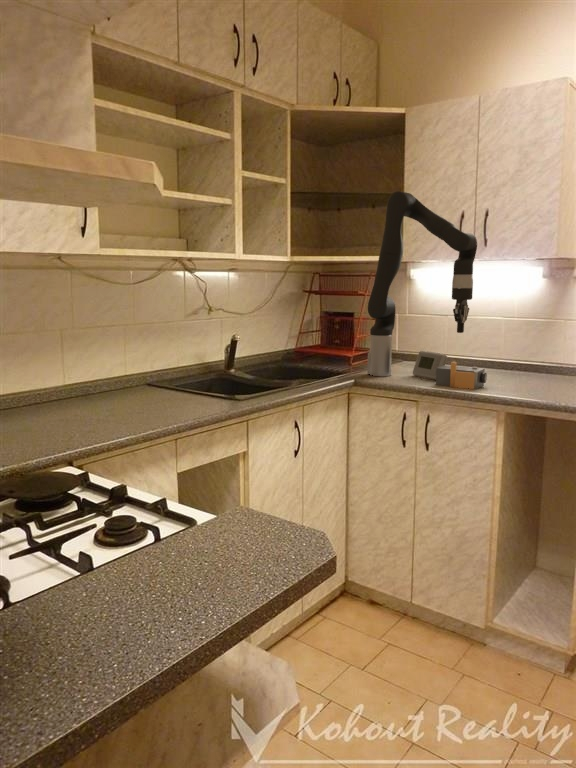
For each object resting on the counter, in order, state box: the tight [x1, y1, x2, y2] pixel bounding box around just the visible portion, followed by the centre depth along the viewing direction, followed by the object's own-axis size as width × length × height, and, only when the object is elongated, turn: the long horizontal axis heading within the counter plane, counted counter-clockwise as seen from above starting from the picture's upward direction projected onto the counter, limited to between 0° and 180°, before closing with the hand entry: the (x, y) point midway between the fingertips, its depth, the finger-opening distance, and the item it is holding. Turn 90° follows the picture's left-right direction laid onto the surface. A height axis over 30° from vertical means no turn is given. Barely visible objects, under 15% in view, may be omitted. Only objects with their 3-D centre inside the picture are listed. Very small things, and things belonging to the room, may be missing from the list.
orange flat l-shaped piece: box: [449, 361, 478, 390], centre depth 228 cm, size 10×2×10 cm, turn 59°
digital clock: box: [412, 350, 448, 381], centre depth 251 cm, size 16×9×11 cm, turn 17°
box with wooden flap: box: [435, 364, 488, 389], centre depth 234 cm, size 18×9×7 cm, turn 57°
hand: (460, 332), depth 232 cm, fingers closed
